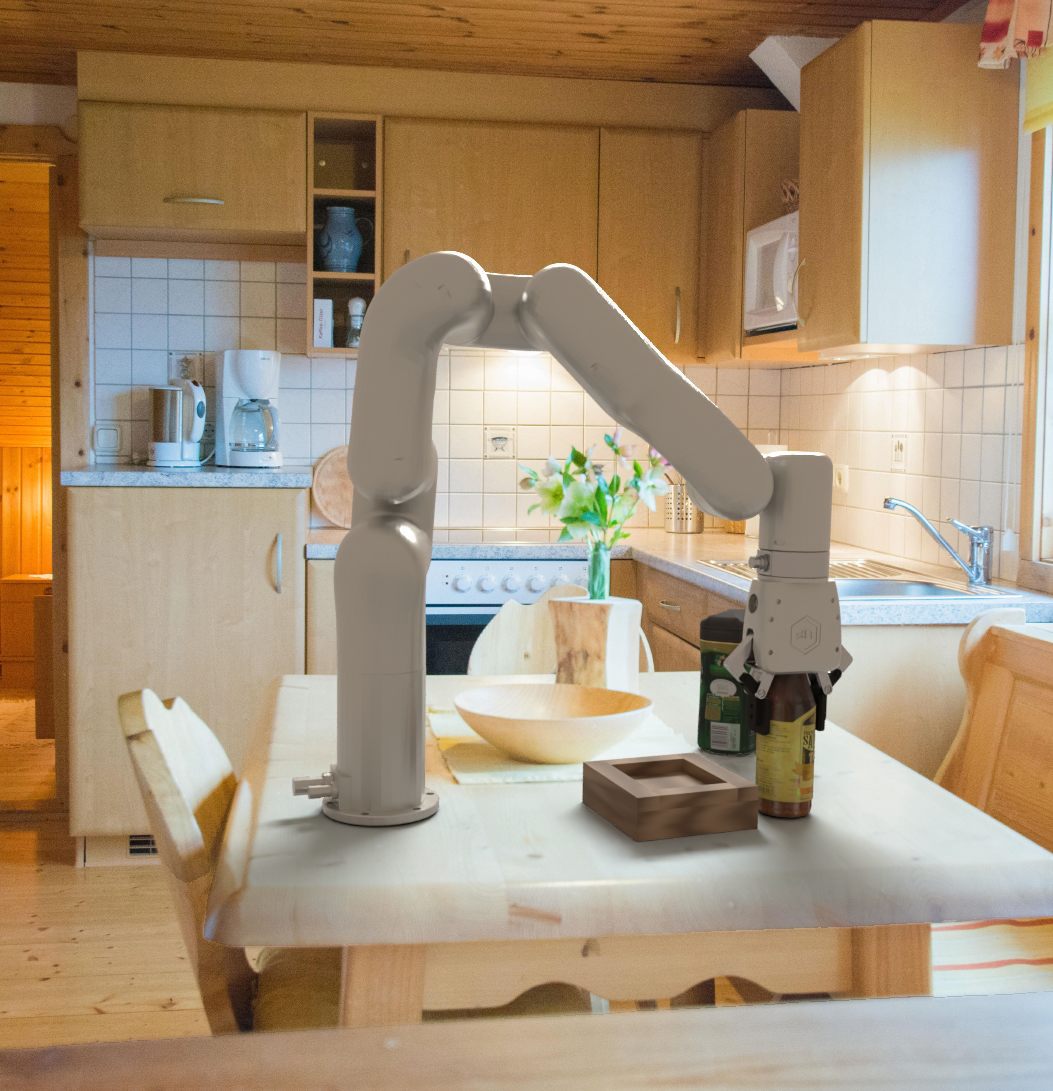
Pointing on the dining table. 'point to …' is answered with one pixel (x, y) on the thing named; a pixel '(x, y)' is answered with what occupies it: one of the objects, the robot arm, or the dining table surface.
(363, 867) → the dining table surface
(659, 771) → the walnut block
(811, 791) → the sauce bottle
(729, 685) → the coffee jar
